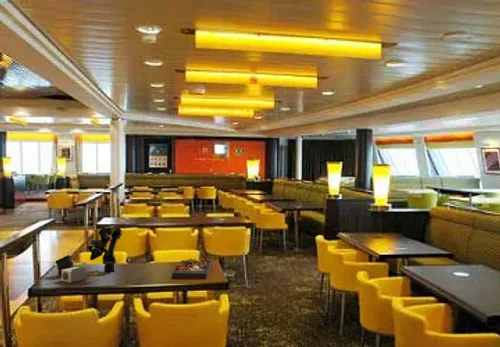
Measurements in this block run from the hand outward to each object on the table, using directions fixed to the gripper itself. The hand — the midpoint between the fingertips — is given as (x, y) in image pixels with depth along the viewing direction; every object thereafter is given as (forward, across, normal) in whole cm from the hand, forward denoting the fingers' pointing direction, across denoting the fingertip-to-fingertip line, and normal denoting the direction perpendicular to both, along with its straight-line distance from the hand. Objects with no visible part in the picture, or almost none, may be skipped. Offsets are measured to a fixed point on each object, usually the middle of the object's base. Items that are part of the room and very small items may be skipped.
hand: (91, 259), depth 356 cm
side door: (+16, 0, +2) cm, 17 cm away
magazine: (+13, -23, +6) cm, 27 cm away
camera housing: (+17, -6, +2) cm, 18 cm away
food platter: (-31, +46, +51) cm, 75 cm away
